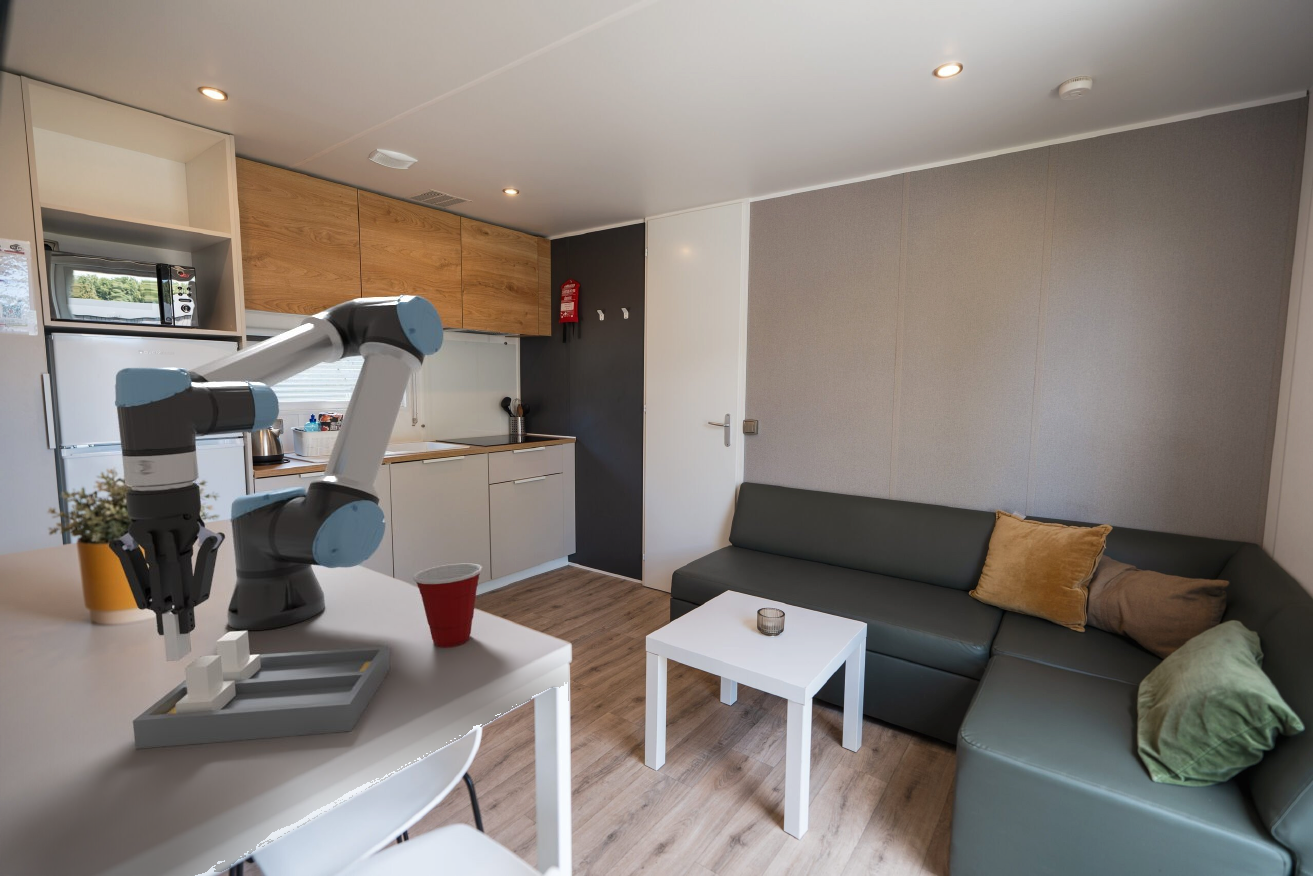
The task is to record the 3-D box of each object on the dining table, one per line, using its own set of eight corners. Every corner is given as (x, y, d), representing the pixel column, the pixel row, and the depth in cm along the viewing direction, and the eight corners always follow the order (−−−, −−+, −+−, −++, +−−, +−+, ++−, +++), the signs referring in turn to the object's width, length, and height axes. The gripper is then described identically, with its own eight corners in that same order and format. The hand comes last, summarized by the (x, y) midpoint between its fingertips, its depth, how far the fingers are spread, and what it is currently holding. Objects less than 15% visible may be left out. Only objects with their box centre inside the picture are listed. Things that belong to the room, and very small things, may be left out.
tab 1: (202, 697, 77) (198, 653, 77) (235, 695, 78) (232, 651, 77) (176, 719, 72) (172, 672, 72) (212, 716, 73) (208, 669, 72)
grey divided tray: (216, 680, 86) (213, 657, 86) (390, 668, 89) (389, 646, 89) (135, 749, 70) (132, 720, 70) (351, 731, 74) (349, 704, 73)
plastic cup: (467, 620, 107) (465, 555, 105) (496, 640, 99) (494, 569, 98) (406, 638, 99) (402, 569, 98) (431, 661, 92) (428, 585, 90)
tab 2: (230, 669, 85) (226, 629, 84) (260, 667, 85) (257, 627, 84) (209, 688, 80) (205, 645, 79) (241, 685, 80) (238, 642, 80)
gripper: (84, 492, 74) (104, 673, 76) (199, 488, 76) (214, 666, 78) (129, 481, 81) (146, 647, 84) (232, 478, 83) (246, 641, 86)
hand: (179, 656), depth 81 cm, fingers closed
